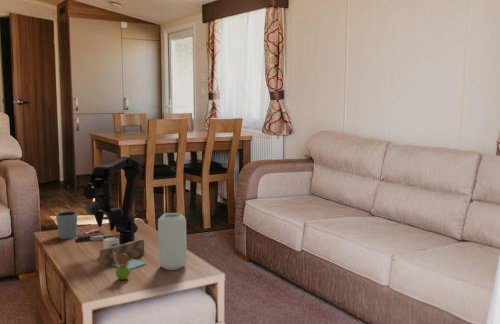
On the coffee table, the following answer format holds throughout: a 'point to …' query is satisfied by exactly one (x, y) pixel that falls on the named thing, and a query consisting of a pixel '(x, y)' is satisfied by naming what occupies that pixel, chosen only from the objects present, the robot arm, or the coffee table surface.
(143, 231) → the coffee table surface
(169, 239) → the vase
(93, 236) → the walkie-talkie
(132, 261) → the teal mat
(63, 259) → the coffee table surface
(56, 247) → the coffee table surface
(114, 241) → the white rectangular block
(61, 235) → the grey-blue cup
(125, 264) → the snail figurine
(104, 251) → the walnut screen
